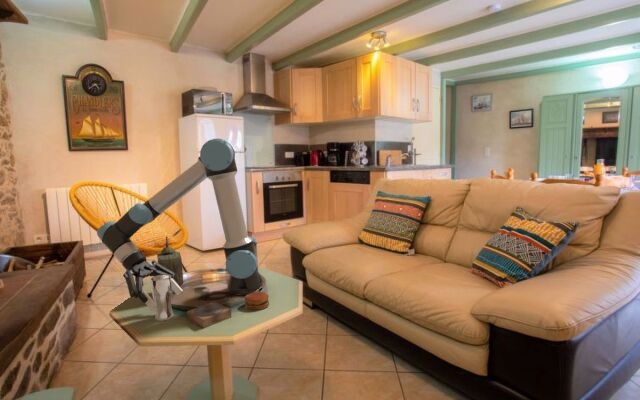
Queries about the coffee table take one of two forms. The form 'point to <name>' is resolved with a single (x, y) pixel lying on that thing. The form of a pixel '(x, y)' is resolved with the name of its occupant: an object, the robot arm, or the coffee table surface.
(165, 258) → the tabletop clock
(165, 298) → the silver metal cup
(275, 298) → the coffee table surface
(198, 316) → the walnut plinth
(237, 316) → the coffee table surface
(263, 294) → the burger
